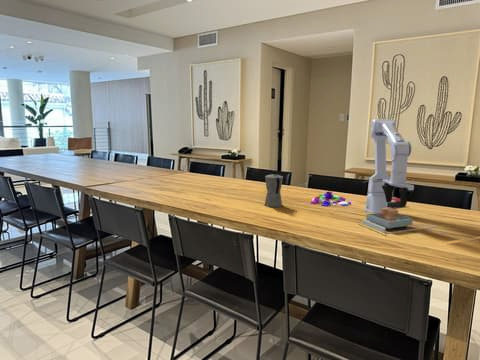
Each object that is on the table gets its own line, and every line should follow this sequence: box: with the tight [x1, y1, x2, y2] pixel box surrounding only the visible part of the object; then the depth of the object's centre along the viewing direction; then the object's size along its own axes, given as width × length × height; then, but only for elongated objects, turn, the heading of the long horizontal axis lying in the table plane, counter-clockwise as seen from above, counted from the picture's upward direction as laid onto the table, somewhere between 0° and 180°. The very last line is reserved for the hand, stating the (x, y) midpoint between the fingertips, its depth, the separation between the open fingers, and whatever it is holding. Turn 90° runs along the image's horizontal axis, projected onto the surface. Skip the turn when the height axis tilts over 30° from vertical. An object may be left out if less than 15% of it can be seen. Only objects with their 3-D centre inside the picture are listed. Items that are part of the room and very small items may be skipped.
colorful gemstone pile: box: [310, 190, 352, 207], centre depth 185 cm, size 25×20×4 cm
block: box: [381, 207, 399, 221], centre depth 139 cm, size 4×4×5 cm
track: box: [357, 219, 438, 237], centre depth 142 cm, size 16×28×3 cm, turn 111°
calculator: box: [387, 195, 402, 209], centre depth 181 cm, size 11×4×15 cm
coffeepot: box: [264, 170, 284, 208], centre depth 174 cm, size 15×9×18 cm, turn 10°
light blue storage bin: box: [365, 212, 414, 231], centre depth 140 cm, size 12×12×4 cm
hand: (395, 204), depth 142 cm, fingers open, 7 cm apart
